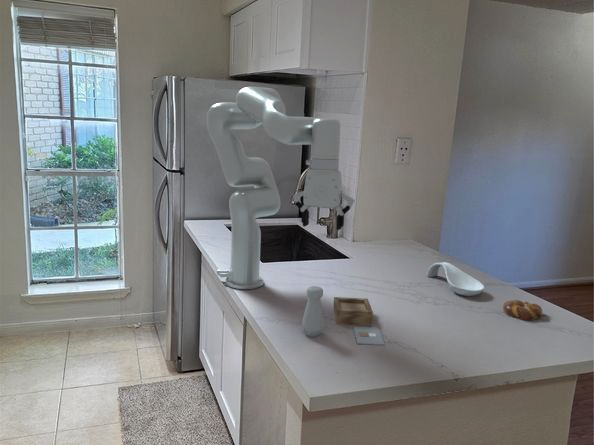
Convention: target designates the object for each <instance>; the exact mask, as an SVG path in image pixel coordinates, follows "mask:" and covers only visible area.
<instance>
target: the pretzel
mask: <svg viewBox="0 0 594 445" xmlns="http://www.w3.org/2000/svg"><path fill="white" fill-rule="evenodd" d="M502 308H503V312H504V313H505V314H506V315H508V317H511V316H512V318H515V317H516V318H517V319H519V320H521V319H522V321H532V320H536V319H540V318H542V315H543V308H542V307H541V306H540V305H539V304H537V303H530V302H529V301H522V300H517V299H516V300H507V301H506V302H504V303H503V307H502ZM516 318H515V319H516Z"/></svg>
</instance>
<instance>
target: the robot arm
mask: <svg viewBox="0 0 594 445" xmlns="http://www.w3.org/2000/svg"><path fill="white" fill-rule="evenodd" d="M261 125H262V126H263V129H264V131H265V133H266V134H267V135H268V136H269V137H270V138H272V139H274V140H276V141H277V142H279V143H282V144H285V145H289V146H297V145H298V146H299V145H300V146H301V145H304V146H305V145H306V146H308V145H310V146H311V147H310V148H311V152H310V153H311V154H310V159H305V165H307V166H309V168H310V169H307V172H306V175H305V180H304V187H303V190H302V191H299V192H297V193H295V194H293V195H292V198H293V200H294V202H295V205H296V207H297V208H298V209H299V210H300V212H301V219H300V220H301V223H302V227H306V226H308V225H309V223H310V211H309V208H310V207H312V208H318V209H319V208H321V209H332V210H333V209H335V211H336V212H337V213H338V215H337V216H336V227H335V228H336V231H340V230H341V229H342V228H343V227H344V224H345V215H346V213H348V212H349V211H350V210H351V209H352V207H353V205H354V204H355V201H356V200H355V198H353V197H351V196H349V195H348V194H347V193H345V192H344V191H343V178H342V172H341V171H342V170H339V163H340V144H341V142H340V141H341V122H340V120H338V119H336V118H318V117H311V116H310V117H309V116H290V115H287V114H286V106H285V103H284V101H282V98H281V96H280V93H279V92H278V91H277V90H276V89H274V88H271V87H261V86H246V87H243V88H241V89H240V90H239V91H238V92H237V94H236V96H235V102H229V101H228V102H225V101H224V102H218V103H215V104H213V105H211V106H210V108H209V109H208V111H207V113H206V128H207V132H208V135H209V138H210V140H211V141H212V143H213V145H214V147H215V150H216V153H217V156H218V158H219V162H220V165H221V169H222V172H223V175H224V178H225V181H226V183H227V184H228V185H229V186H230V187H233V188H242V189H238V190H237V191H235V192H233V193H232V194H231V195H230V197H229V199H228V208H229V212H230V213H229V214H230V222H231V224H230V226H231V236H230V238H231V244H230V245H231V247H230V267H229V268H227V269H217V270H216V275H217V276H219V278H225V285H226V286H228V287H230V288H231V289H232V288H234V289H237V290H253V289H254V290H255V289H258V288H260V287H262V286H263V285H264V282H265V281H264V278H263V277H261V276H260V262H261V244H262V242H261V238H262V236H261V235H262V232H261V228H260V226H259V224H258V222H257V218H262V217H270V216H274V215H275V214H277V213H278V212H279V210H280V208H281V197H280V193H279V189H278V187H277V184H276V181H275V180H276V179H275V178H274V174H273V171H272V169H271V166H270V164H269V163H268V161H267V160H265V159H264V158H262V157H257V156H255V157H252V156H251V157H249V156H247V154H246V152H245V150H244V147H243V143H242V142H241V140H240V139H239V138H238V137H237V135H235V133H234V132H233V131H232V130H253V129H256V128H258V127H260V126H261ZM247 187H251V188H247ZM252 187H253V188H252ZM243 188H244V189H243ZM301 197H303V201H301ZM343 200H345V202H347V205H346V206H344V207H343V205H342V204H343Z"/></svg>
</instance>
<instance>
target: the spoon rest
mask: <svg viewBox="0 0 594 445" xmlns="http://www.w3.org/2000/svg"><path fill="white" fill-rule="evenodd" d="M440 267H443V268H444V272H445V278H446V280H447V284H448V286H449V287H450V289H451V290H452V291H453V292H454V293H455V294H457V295H459V296H462V297H463V296H464V297H472V296H477V295H479V294H480V293H482V292H483V291H484V290H485V286H484V284H483V283H482V282H480V281H479V280H478V279H476V278H474V277H472V276H471V275H469V274H468V273H466V272H464V271H462V270H461V269H459V268H458V267H456V266H455V265H453V264H452V263H449V262H435V263H433V264H432V265H430V267H428V270H427V272H426V277H427V278H429V277H430V278H432V277H433V278H434V277H438V275H439V269H440Z"/></svg>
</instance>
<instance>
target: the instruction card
mask: <svg viewBox="0 0 594 445" xmlns="http://www.w3.org/2000/svg"><path fill="white" fill-rule="evenodd" d="M352 329H353V332H354V336H355V339H356V343H357V345H369V346H371V345H373V346H374V345H375V346H385V345H386V344H385V342H384V339H383V336H382V334H381V331H380V329H379V327H375V326H374V327H371V326H355V325H354V326H352Z"/></svg>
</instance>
